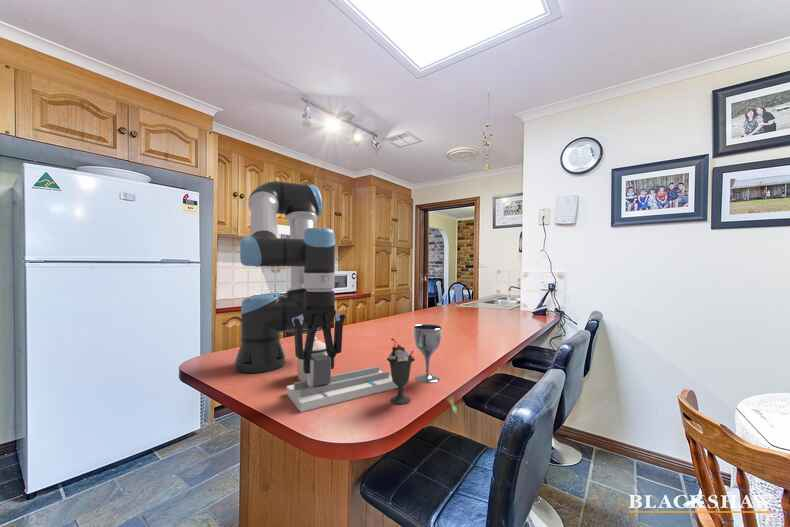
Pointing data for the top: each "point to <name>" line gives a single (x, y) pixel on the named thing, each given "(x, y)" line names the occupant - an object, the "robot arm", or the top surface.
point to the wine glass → (427, 347)
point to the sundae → (400, 371)
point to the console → (340, 388)
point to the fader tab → (321, 369)
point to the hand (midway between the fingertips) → (318, 383)
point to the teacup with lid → (317, 348)
